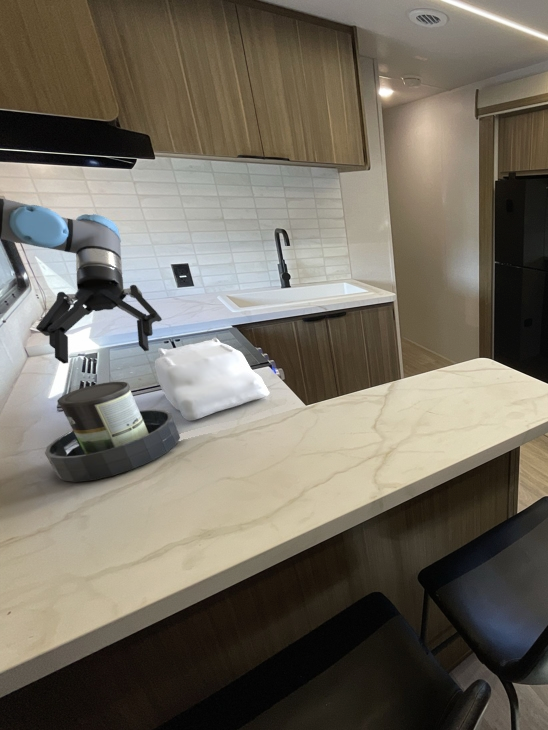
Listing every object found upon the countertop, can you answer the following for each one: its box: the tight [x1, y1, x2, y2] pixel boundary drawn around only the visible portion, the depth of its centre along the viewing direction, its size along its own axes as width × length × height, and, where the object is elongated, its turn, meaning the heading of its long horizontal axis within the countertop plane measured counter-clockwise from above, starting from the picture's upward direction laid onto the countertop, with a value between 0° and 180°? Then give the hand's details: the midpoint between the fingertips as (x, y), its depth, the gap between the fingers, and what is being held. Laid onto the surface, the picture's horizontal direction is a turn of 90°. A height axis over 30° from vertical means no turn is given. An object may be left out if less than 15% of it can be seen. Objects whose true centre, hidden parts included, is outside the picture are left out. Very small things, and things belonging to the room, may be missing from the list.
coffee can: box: [56, 381, 149, 455], centre depth 81 cm, size 10×10×14 cm
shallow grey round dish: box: [44, 409, 181, 483], centre depth 83 cm, size 19×19×6 cm
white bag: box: [154, 336, 270, 422], centre depth 107 cm, size 19×30×13 cm, turn 48°
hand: (104, 354), depth 85 cm, fingers open, 13 cm apart
